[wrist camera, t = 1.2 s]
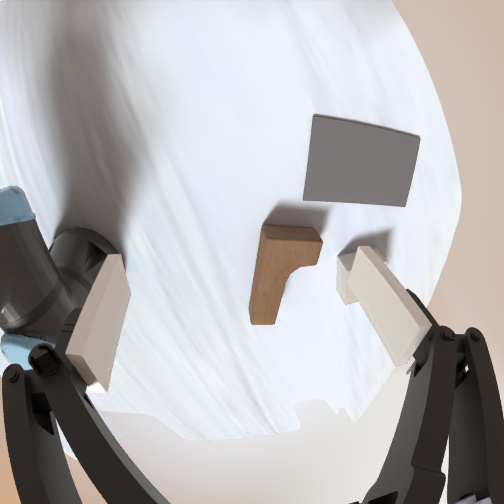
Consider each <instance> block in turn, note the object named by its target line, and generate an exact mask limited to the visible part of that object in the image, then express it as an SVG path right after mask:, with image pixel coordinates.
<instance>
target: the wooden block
mask: <svg viewBox="0 0 504 504" xmlns="http://www.w3.org/2000/svg"><path fill="white" fill-rule="evenodd" d="M322 244H323V241H322V239H321V237H320V236H319V234H318V233H317V231H316V230H315V229H313V228H301V227H286V226H271V225H263V226H262V228H261V234H260V241H259V247H258V254H257V260H256V266H255V272H254V278H253V285H252V291H251V297H250V303H249V314H250V320H251V324H252V325H273V324H275V321H276V317H277V313H278V309H279V306H280V302H281V298H282V294H283V290H284V286H285V282H286V281H287V279H288V277H289V275H290V274H291V273H292V272H294V271H295V270H297V269H298V268H300V267H305V266H313V265H316V264H317V262H318V258H319V255H320V251H321V248H322Z"/></svg>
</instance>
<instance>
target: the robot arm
mask: <svg viewBox="0 0 504 504" xmlns="http://www.w3.org/2000/svg"><path fill="white" fill-rule="evenodd" d="M35 218H36V216H35V214H34V213H33V212H32V210H31V207H30V205H29V202H28V200H27V198H26V195H25V193H24V191H23V190H22V189H21V188H20V187H18V186H8V187H5V188H3V189H0V327H1V329H2V330H3V331H4V335H3V336H2V337H1V344H0V346H1V350H2V353H3V354H4V356H5V357H6V358H7V359H8V361H9V362H10V363H12V364H11V365H9V366H8V367H7V368H6V369H5V371H4V373H3V376H2V396H3V413H4V424H5V433H6V440H7V446H8V452H9V457H10V463H11V467H12V472H13V476H14V480H15V484H16V487H17V491H18V495H19V498H20V501H21V504H82V501H81V499H80V497H79V494H78V492H77V489H76V487H75V484H74V481H73V479H72V476H71V473H70V470H69V467H68V464H67V461H66V458H65V455H64V451H63V447H62V444H61V440H60V436H59V432H58V428H57V424H56V420H57V422H58V424H59V426H60V428H61V430H62V432H63V434H64V436H65V438H66V440H67V442H68V443H69V445H70V447H71V449H72V451H73V452H74V454H75V456H76V458H77V459H78V461H79V462H80V464H81V466H82V467H83V469H84V471H85V472H86V474H87V475H88V477H89V478H90V480H91V481H92V483H93V484H94V486H95V487H96V488H97V490H98V491H99V493H100V494H101V495H102V497H103V498H104V499H105V500H106V502H107V503H108V504H170V503H169V502H168V501H167V500H166V499H165V498H164V496H163V495H162V494H161V493H160V492H159V491H158V490H157V489H156V488H155V487H154V486H153V485H152V484H151V483H150V481H149V480H148V479H147V478H146V477H145V476H144V475H143V473H142V472H141V471H140V470H139V469H138V467H137V466H136V465H135V464H134V463H133V461H132V460H131V459H130V458H129V456H128V455H127V454H126V453H125V451H124V450H123V448H122V447H121V446H120V444H119V443H118V442H117V441H116V439H115V437H114V436H113V435H112V433H111V432H110V430H109V429H108V427H107V426H106V424H105V423H104V421H103V420H102V418H101V417H100V415H99V414H98V412H97V410H96V409H95V407H94V405H93V404H92V402H91V400H90V399H89V397H88V395H87V394H86V393H85V392H86V387H87V386H88V387H89V388H90V390H91V391H92V392H97V393H106V394H107V392H108V387H109V382H110V377H111V372H112V367H113V362H114V358H115V354H116V349H117V345H118V341H119V337H120V333H121V329H122V325H123V321H124V318H125V314H126V310H127V307H128V303H129V300H130V297H131V292H130V288H129V285H128V281H127V277H126V273H125V269H124V265H123V261H122V257H121V254H118V253H117V251H116V250H115V249H114V247H113V246H112V245H111V244H110V243H109V242H108V241H107V240H106V239H105V238H103V237H102V236H100V235H99V234H97V233H95V232H93V231H90V230H87V229H83V228H72V229H68V230H65V231H64V232H62V233H61V234H59V235H58V237H57V238H56V239H55V240H54V241H53V243H52V244H51V246H50V248H49V250H48V248H47V246H46V244H45V241H44V239H43V237H42V235H41V232H40V230H39V227H38V225H37V222H36V219H35ZM348 285H349V287H350V288H351V290H352V292H353V293H354V295H355V297H356V298H357V300H358V301H359V303H360V305H361V306H362V308H363V310H364V311H365V313H366V315H367V317H368V318H369V320H370V322H371V323H372V325H373V327H374V329H375V330H376V332H377V334H378V336H379V337H380V339H381V341H382V343H383V344H384V346H385V348H386V350H387V352H388V353H389V355H390V357H391V359H392V361H393V363H394V364H395V366H396V367H397V366H400V365H403V364H406V363H408V361H409V360H410V359H411V357H412V356H413V357H414V358H415V361H414V363H413V364H412V366H411V367H410V369H409V370H408V371H407V373H406V374H409V372H410V371H411V376H410V380H409V384H408V389H407V393H406V397H405V401H404V404H403V408H402V412H401V416H400V419H399V422H398V425H397V428H396V432H395V435H394V438H393V441H392V443H391V447H390V449H389V452H388V455H387V457H386V460H385V462H384V465H383V468H382V470H381V472H380V475H379V477H378V479H377V481H376V482H375V484H374V485H373V486H372V487H371V488H370V490H369V491H368V492H367V494H366V496H365V498H364V500H363V502H362V503H359V502H358V501H357V502H354V503H350V504H439V501H440V498H441V495H442V492H443V489H444V485H445V481H446V476H445V474H444V473H442V472H441V466H442V462H443V458H444V454H445V450H446V445H447V440H448V435H449V469H448V485H447V503H448V504H504V418H503V411H502V405H501V400H500V395H499V390H498V385H497V381H496V377H495V373H494V369H493V365H492V361H491V358H490V354H489V351H488V348H487V344H486V341H485V338H484V336H483V334H482V333H481V332H480V331H479V330H478V329H476V328H473V327H471V328H468V329H467V330H466V332H465V334H455V333H454V332H453V331H452V330H451V329H450V328H448V327H446V326H439V325H438V323H437V322H436V321H435V319H434V318H433V316H432V315H431V314H430V312H429V311H428V310H427V309H426V308H425V306H424V305H423V303H421V301H420V299H419V298H418V297H417V296H416V294H414V293H413V292H412V291H410V290H409V289H405V288H404V287H403V286H402V284H401V283H400V282H399V281H398V279H397V278H396V277H395V276H394V275H393V273H392V272H391V271H390V270H389V268H388V267H387V266H386V265H385V264H384V262H383V261H382V260H381V259H380V258H379V257H378V255H377V254H376V253H375V252H374V251H373V250H372V248H371V247H370V246H358V248H357V252H356V256H355V259H354V263H353V267H352V270H351V274H350V277H349V280H348ZM467 365H468V371H467V372H466V370H465V367H466V366H467ZM55 418H56V419H55Z"/></svg>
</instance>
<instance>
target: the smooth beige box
mask: <svg viewBox="0 0 504 504" xmlns="http://www.w3.org/2000/svg"><path fill="white" fill-rule="evenodd" d="M372 250H373V251H374V252H375V253H376V254H377V255H378V257H379V258H380V259H381V260H382V261H383V262H384V264H385V265H386V266H387V260H386V259H385V258H384V257H383V255H382V254H381V253H380V252H379V251H378V250H377V248H376V247H373V248H372ZM356 252H357V251H356ZM356 252H352V253H347V254H343V255H339V256H337V284H336V289H337V291H338V293H339V295H340V297H341V298H342V300H343V302H344V304H345V305H347V304H351V303H354V302H358V300H357V298H356V297H355V295H354V293H353V292H352V290H351V288H350V287H349V285H348V280H349V277H350V274H351V270H352V267H353V263H354V259H355V256H356Z"/></svg>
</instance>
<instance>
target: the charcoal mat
mask: <svg viewBox="0 0 504 504" xmlns="http://www.w3.org/2000/svg"><path fill="white" fill-rule="evenodd" d="M419 144H420V138H417V137H413V136H410V135H406V134H402V133H398V132H394V131H390V130H386V129H382V128H378V127H373V126H368V125H363V124H358V123H353V122H348V121H342V120H336V119H329V118H323V117H315V116H313V120H312V130H311V139H310V147H309V156H308V164H307V172H306V180H305V187H304V194H303V201H326V202H345V203H360V204H374V205H387V206H399V207H405V206H406V202H407V198H408V194H409V190H410V186H411V182H412V178H413V174H414V169H415V165H416V160H417V155H418V150H419Z"/></svg>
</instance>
